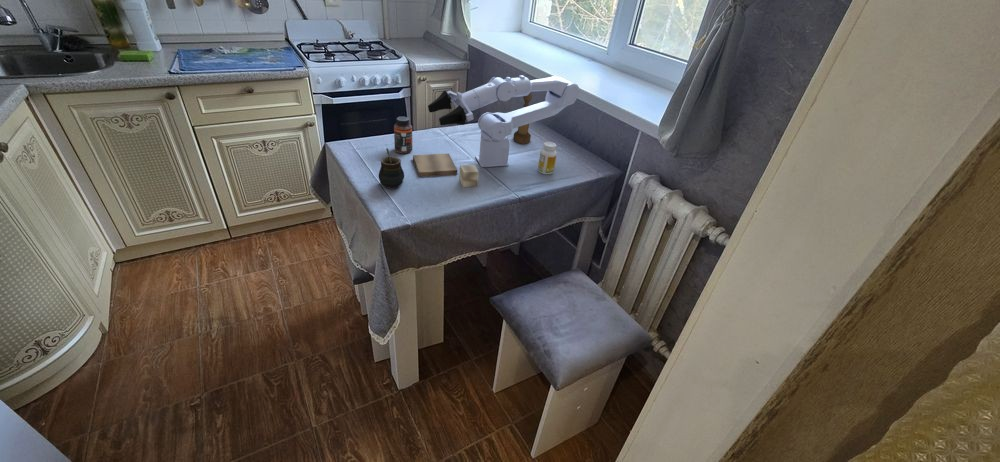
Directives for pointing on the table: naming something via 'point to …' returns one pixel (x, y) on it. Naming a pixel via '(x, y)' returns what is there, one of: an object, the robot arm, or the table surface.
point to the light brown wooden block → (434, 165)
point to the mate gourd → (391, 172)
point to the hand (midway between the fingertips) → (434, 115)
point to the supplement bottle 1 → (403, 135)
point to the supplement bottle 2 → (547, 158)
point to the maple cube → (468, 175)
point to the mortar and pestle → (522, 132)
